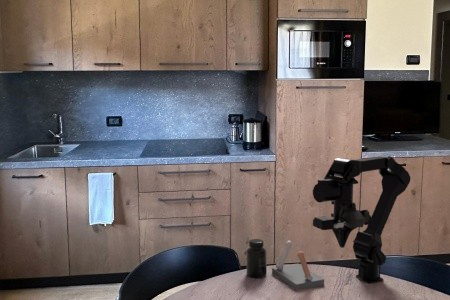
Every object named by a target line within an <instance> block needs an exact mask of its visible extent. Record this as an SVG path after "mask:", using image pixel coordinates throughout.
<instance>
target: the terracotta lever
mask: <svg viewBox="0 0 450 300" xmlns="http://www.w3.org/2000/svg"><path fill="white" fill-rule="evenodd" d="M296 256H297V258H298V260H299V263H300V265H302V268H303V271H304V274H305V275H304V277H305V278H306V279H308V280H309V281H311V280H312V279H313V277H312V276H311V274H310V271H311V270H310V269H309V267H308V263H307V261H306V257H305V253H304V252H303V251H298V252H297V255H296ZM309 270H310V271H309Z"/></svg>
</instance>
